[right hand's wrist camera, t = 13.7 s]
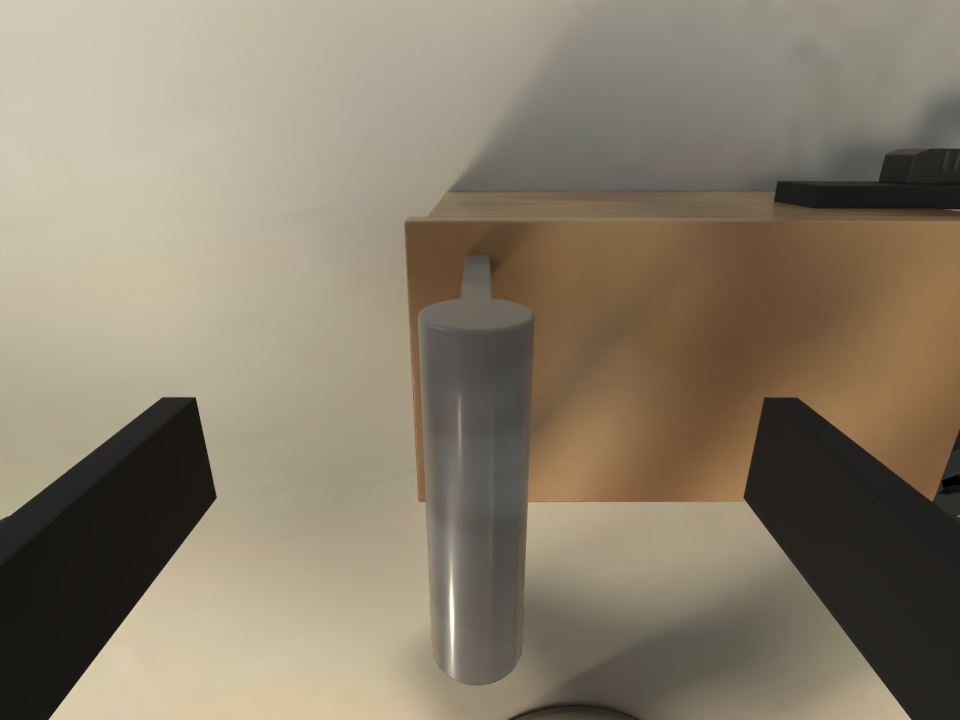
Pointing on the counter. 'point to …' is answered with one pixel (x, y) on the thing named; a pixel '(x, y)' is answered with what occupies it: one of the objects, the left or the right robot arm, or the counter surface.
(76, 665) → the right robot arm
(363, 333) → the counter surface
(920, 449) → the lid
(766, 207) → the chest
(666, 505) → the counter surface
